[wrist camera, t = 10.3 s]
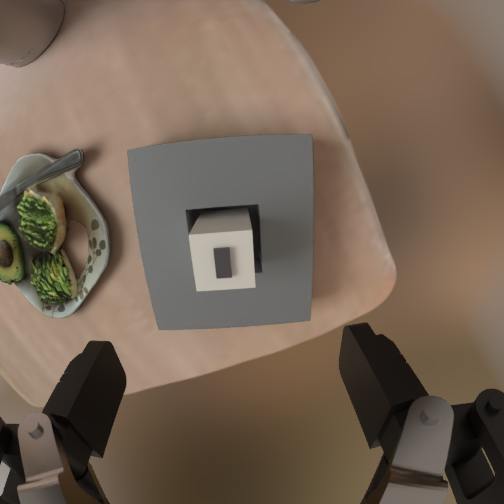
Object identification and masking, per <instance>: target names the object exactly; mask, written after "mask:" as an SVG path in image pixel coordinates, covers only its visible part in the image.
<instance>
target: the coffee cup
mask: <svg viewBox="0 0 504 504" xmlns="http://www.w3.org/2000/svg"><path fill="white" fill-rule="evenodd" d="M288 1H291V2H296V3H311V2H316V1H319V0H288Z"/></svg>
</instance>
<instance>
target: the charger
mask: <svg viewBox="0 0 504 504" xmlns="http://www.w3.org/2000/svg"><path fill="white" fill-rule="evenodd" d="M189 242H190V250H191V257H192V264H193V271H194V278H195V284H196V291H214V290H229V289H244V288H256V286H255V269H254V252H253V235H252V227H251V222H250V217H249V212H248V208H242V209H228V210H215V211H203V212H201V213H200V215H199V217H198V219H197V220H196V222H195V224H194V226H193V228H192V229H191V231H190V233H189Z"/></svg>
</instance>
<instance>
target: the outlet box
mask: <svg viewBox="0 0 504 504" xmlns="http://www.w3.org/2000/svg"><path fill="white" fill-rule="evenodd" d="M127 154H128V165H129V175H130V184H131V192H132V200H133V207H134V214H135V221H136V227H137V233H138V239H139V245H140V250H141V255H142V261H143V266H144V270H145V275H146V280H147V284H148V289H149V293H150V297H151V302H152V306H153V310H154V314H155V318H156V322H157V325H158V329H159V330H184V329H211V328H230V327H245V326H259V325H271V324H282V323H292V322H302V321H310V318H311V300H312V276H313V236H314V188H313V149H312V135H311V134H284V135H253V136H235V137H222V138H210V139H200V140H191V141H182V142H175V143H167V144H160V145H154V146H147V147H141V148H136V149H130V150H127ZM242 208H248V212H249V217H250V222H251V227H252V235H253V252H254V269H255V286H256V288H244V289H229V290H214V291H196V284H195V278H194V271H193V264H192V257H191V250H190V242H189V233H190V231H191V229H192V228H193V226H194V224H195V222H196V220H197V219H198V217H199V215H200V213H201V212H203V211H215V210H228V209H242Z"/></svg>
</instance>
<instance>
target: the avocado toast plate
mask: <svg viewBox="0 0 504 504" xmlns="http://www.w3.org/2000/svg"><path fill="white" fill-rule="evenodd" d="M83 163H84V153H83V151H82V149H75V150H72V151H70V152H69V153H67V154H65V155H64V156H62V157H61V158H59V159H55V158H53V157H50V156H48V155H46V154H43V153H38V154H30V155H26V156H23V157H21V158H20V159H18V160H17V161H16V163H15V165H14V166H13V168H12V169H11V171H10V173H9V175H8V177H7V179H6V181H5V183H4V186H3V188H2V190H1V193H0V280H1V281H2V282H4V283H8V284H10V285H11V284H12V283H13V282H14V283H15V285H16V286H17V287H18V288H19V289H20V291H21V292H22V293H23V294H24V295H25V297H26V298H27V299H28V300H29V301H30V303H31V304H32V305H33V306H34V307H35V308H36V309H38V310H39V311H40V312H41V313H43V314H45V315H47V316H49V317H54V318H65V317H68V316H70V315H71V314H73V313H74V312H75V311H76V310H77V309H78V308H79V307H80V306H81V305H82V304H83V302H84V300H85V298H86V297H87V295H88V294H89V293H90V291H91V290H92V288H93V287H94V286H95V284H96V283H97V281H98V280H99V279H100V277H101V275H102V273H103V272H104V270H105V269H106V267H107V265H108V261H109V255H110V248H111V246H110V236H109V230H108V224H107V221H106V220H105V218H104V216H103V214H102V213H101V211H100V210H99V208H98V207H97V205H96V204H95V202H94V201H93V200H92V199H91V197H90V196H89V195H88V193H87V192H86V191H85V190H84V189H83V188H82V187H81V185H80V184H79V182H78V181H77V179H76V177H75V171H76V170H77V169H78V168H79V167H81V165H82V164H83ZM71 219H73V220H75V221H77V222H79V223H80V224H82V225H83V226H84V227H85V228H86V229H87V235H88V258H87V262H86V266H85V268H84V270H83V272H82V274H81V275H80V277H79V278H78V279H77V278H76V277H75V271H74V269H73V267H72V265H71V262H70V260H69V258H68V256H67V255H66V252H65V249H64V245H63V243H64V239H65V237H66V231H67V230H68V229H69V221H70V220H71ZM43 251H44V252H43Z"/></svg>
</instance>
